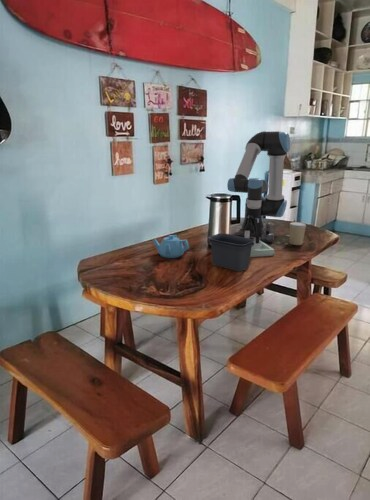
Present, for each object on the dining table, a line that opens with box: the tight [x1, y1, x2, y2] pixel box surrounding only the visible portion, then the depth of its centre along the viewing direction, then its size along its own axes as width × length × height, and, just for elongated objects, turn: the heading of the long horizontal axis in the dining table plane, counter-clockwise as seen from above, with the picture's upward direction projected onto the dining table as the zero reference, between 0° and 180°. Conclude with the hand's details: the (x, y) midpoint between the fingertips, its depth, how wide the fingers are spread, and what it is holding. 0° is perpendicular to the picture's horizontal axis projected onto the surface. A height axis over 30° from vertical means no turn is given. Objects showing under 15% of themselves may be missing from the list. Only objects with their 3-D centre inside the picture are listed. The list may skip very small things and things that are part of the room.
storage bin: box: [208, 232, 255, 272], centre depth 180 cm, size 21×16×14 cm
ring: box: [251, 243, 262, 250], centre depth 205 cm, size 11×11×4 cm
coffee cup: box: [288, 221, 307, 246], centre depth 220 cm, size 9×9×12 cm
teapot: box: [152, 234, 190, 259], centre depth 196 cm, size 15×15×11 cm
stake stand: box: [259, 222, 275, 245], centre depth 223 cm, size 8×8×12 cm
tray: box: [250, 239, 276, 258], centre depth 205 cm, size 19×19×3 cm
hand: (251, 245), depth 205 cm, fingers open, 13 cm apart
